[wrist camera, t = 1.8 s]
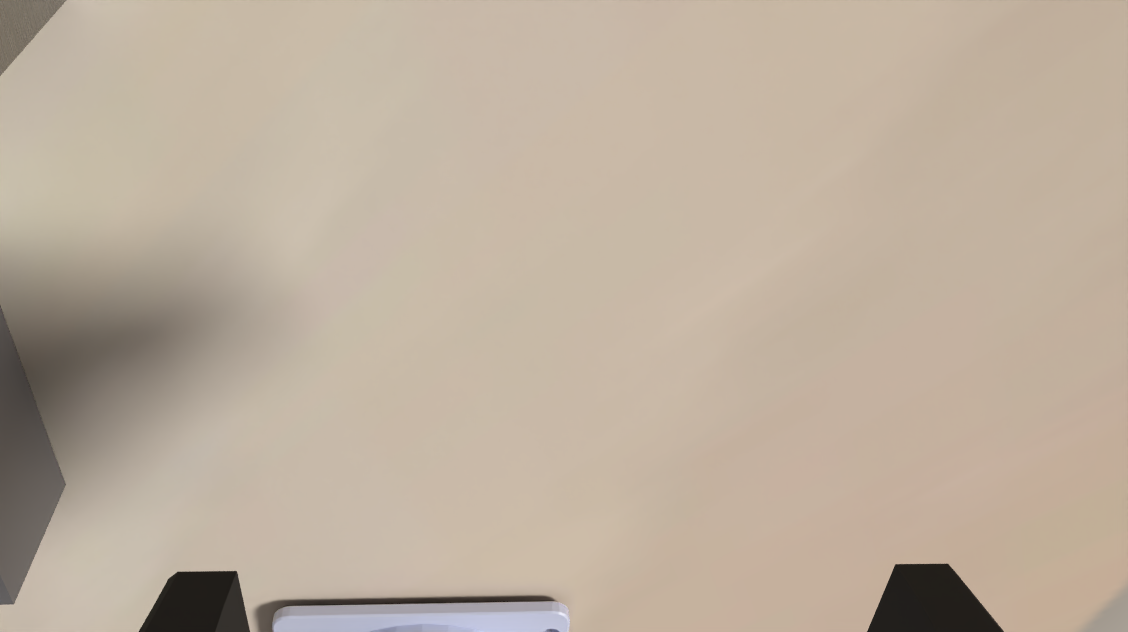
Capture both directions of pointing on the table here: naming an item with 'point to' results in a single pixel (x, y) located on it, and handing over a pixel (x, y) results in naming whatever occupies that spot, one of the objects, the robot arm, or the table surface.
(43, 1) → the button housing
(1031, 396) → the table surface
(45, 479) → the block
